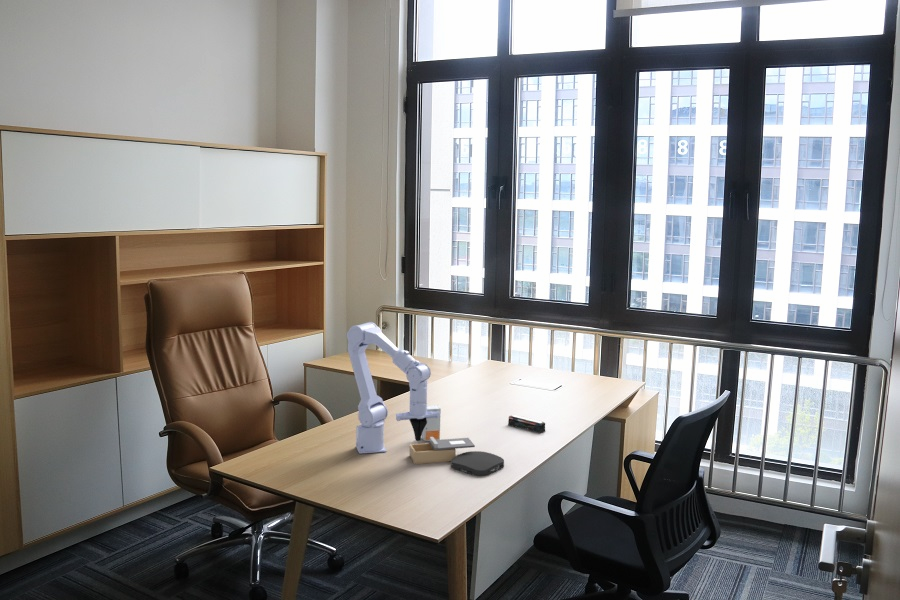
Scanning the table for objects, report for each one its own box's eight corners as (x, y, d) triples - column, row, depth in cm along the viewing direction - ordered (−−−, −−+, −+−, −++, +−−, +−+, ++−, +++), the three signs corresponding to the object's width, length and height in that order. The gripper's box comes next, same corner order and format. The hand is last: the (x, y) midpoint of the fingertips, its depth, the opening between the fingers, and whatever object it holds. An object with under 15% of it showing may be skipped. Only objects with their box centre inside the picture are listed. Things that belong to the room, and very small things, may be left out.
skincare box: (424, 441, 277) (424, 409, 275) (421, 437, 281) (421, 406, 279) (440, 440, 278) (440, 408, 277) (437, 436, 282) (437, 404, 281)
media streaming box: (473, 455, 264) (473, 447, 264) (508, 466, 255) (508, 457, 255) (446, 467, 253) (446, 459, 253) (482, 479, 244) (482, 470, 244)
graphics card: (540, 439, 283) (540, 428, 282) (485, 425, 299) (486, 414, 298) (561, 430, 294) (561, 419, 293) (507, 416, 310) (508, 406, 309)
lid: (434, 450, 256) (434, 444, 256) (428, 442, 264) (428, 436, 263) (474, 447, 259) (474, 441, 259) (468, 439, 267) (468, 433, 267)
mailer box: (414, 464, 255) (414, 452, 254) (409, 455, 262) (409, 444, 262) (455, 460, 258) (455, 449, 258) (449, 452, 266) (449, 441, 265)
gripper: (399, 405, 250) (398, 445, 252) (442, 402, 254) (441, 442, 256) (395, 399, 257) (394, 438, 259) (437, 396, 261) (436, 435, 263)
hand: (417, 439), depth 258 cm, fingers closed
